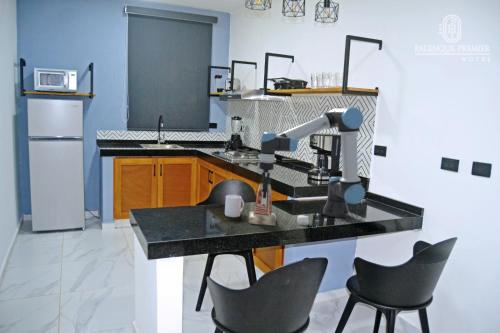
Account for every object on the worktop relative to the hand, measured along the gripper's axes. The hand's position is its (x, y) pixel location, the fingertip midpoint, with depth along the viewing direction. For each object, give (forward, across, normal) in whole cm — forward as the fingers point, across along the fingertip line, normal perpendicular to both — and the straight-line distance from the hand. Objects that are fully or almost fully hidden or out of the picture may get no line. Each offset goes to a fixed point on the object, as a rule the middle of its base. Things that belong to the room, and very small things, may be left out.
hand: (263, 201), depth 220 cm
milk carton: (+8, 0, 0) cm, 8 cm away
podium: (+11, 0, 0) cm, 11 cm away
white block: (+11, -1, +22) cm, 25 cm away
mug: (+11, -8, -15) cm, 20 cm away
